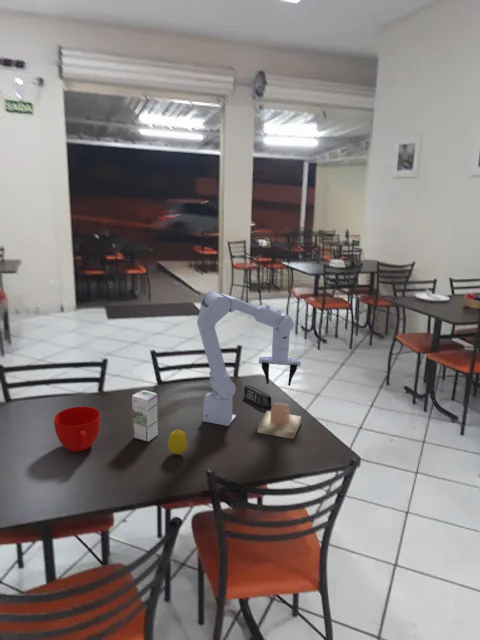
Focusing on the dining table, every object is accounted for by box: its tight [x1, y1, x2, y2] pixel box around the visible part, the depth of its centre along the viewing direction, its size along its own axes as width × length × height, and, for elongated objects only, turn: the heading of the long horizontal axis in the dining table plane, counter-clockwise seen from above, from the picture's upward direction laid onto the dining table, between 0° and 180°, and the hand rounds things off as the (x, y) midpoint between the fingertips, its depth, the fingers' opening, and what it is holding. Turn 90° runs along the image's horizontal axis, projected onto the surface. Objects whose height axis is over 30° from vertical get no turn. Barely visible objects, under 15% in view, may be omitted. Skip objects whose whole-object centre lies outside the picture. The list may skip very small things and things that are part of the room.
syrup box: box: [131, 389, 159, 443], centre depth 148 cm, size 6×6×14 cm
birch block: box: [257, 410, 302, 440], centre depth 159 cm, size 12×12×3 cm
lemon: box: [167, 429, 188, 455], centre depth 139 cm, size 6×6×8 cm
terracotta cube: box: [270, 402, 291, 425], centre depth 158 cm, size 5×5×5 cm
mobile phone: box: [243, 385, 273, 409], centre depth 177 cm, size 5×3×15 cm
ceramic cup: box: [53, 406, 101, 453], centre depth 140 cm, size 13×17×10 cm
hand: (278, 383), depth 169 cm, fingers open, 7 cm apart
